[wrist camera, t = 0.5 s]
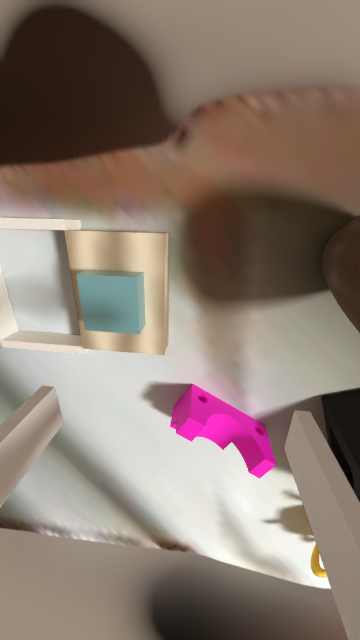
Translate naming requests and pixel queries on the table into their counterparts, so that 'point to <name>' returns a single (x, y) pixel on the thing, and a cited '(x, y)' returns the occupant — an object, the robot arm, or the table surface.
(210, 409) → the magenta notched bracket
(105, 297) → the teal rectangular block
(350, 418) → the device stand
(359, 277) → the plant pot
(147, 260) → the plate
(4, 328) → the box
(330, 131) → the table surface
